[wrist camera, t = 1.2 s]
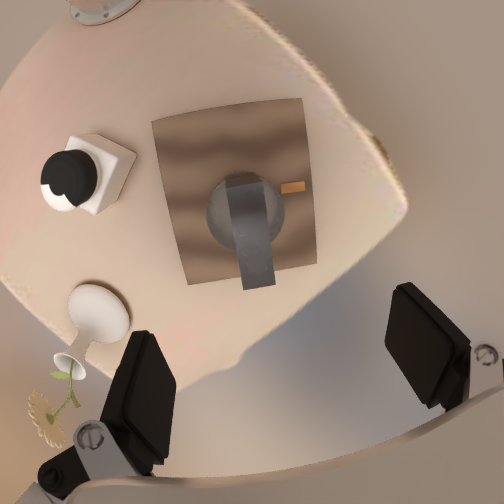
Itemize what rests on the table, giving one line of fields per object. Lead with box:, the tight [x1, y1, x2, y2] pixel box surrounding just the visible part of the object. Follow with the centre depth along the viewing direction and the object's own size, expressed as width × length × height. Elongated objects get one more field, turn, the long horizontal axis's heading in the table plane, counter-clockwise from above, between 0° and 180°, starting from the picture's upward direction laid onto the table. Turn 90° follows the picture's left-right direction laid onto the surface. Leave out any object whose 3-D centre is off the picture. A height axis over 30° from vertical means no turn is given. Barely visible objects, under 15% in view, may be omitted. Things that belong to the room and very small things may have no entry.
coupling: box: [206, 171, 285, 290], centre depth 24 cm, size 10×7×10 cm
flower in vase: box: [28, 284, 130, 448], centre depth 28 cm, size 13×11×25 cm
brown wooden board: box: [152, 98, 317, 285], centre depth 31 cm, size 22×18×7 cm
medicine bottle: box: [41, 134, 137, 215], centre depth 26 cm, size 7×7×12 cm
